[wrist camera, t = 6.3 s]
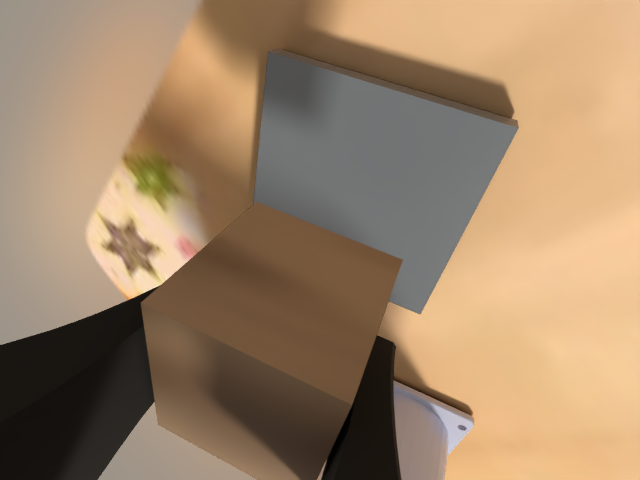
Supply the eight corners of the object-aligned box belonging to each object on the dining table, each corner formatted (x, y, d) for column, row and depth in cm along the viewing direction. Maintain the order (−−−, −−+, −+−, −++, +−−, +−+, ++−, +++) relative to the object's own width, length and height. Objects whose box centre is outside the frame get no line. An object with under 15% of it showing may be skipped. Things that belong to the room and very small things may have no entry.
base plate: (423, 301, 20) (420, 314, 19) (258, 234, 22) (249, 243, 21) (517, 120, 14) (518, 127, 13) (279, 48, 16) (267, 51, 15)
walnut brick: (357, 365, 13) (305, 505, 10) (244, 314, 14) (158, 424, 10) (402, 259, 10) (351, 405, 7) (256, 202, 11) (140, 302, 7)
